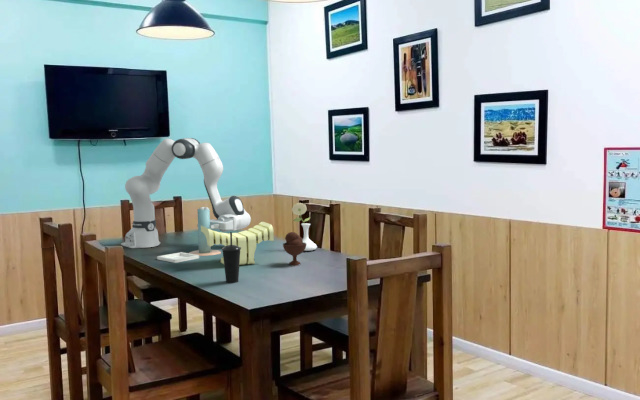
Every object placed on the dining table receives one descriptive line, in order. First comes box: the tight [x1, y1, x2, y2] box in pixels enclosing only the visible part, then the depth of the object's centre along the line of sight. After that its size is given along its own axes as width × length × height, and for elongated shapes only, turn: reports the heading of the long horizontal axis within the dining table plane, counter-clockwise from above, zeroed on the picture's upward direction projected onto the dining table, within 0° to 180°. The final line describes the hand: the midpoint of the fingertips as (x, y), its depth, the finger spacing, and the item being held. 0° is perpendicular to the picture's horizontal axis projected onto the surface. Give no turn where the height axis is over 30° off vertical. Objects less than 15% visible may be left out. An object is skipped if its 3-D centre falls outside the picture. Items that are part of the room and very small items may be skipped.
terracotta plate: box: [188, 249, 222, 257], centre depth 293 cm, size 16×16×1 cm
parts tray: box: [156, 251, 200, 264], centre depth 278 cm, size 14×14×2 cm
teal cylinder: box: [197, 206, 212, 253], centre depth 292 cm, size 6×6×23 cm
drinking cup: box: [221, 231, 241, 284], centre depth 231 cm, size 8×8×20 cm
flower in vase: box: [291, 202, 318, 252], centre depth 300 cm, size 13×11×25 cm
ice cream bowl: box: [282, 231, 306, 266], centre depth 264 cm, size 11×11×15 cm
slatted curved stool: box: [201, 221, 275, 266], centre depth 268 cm, size 30×16×18 cm, turn 115°
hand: (204, 226), depth 292 cm, fingers open, 8 cm apart
